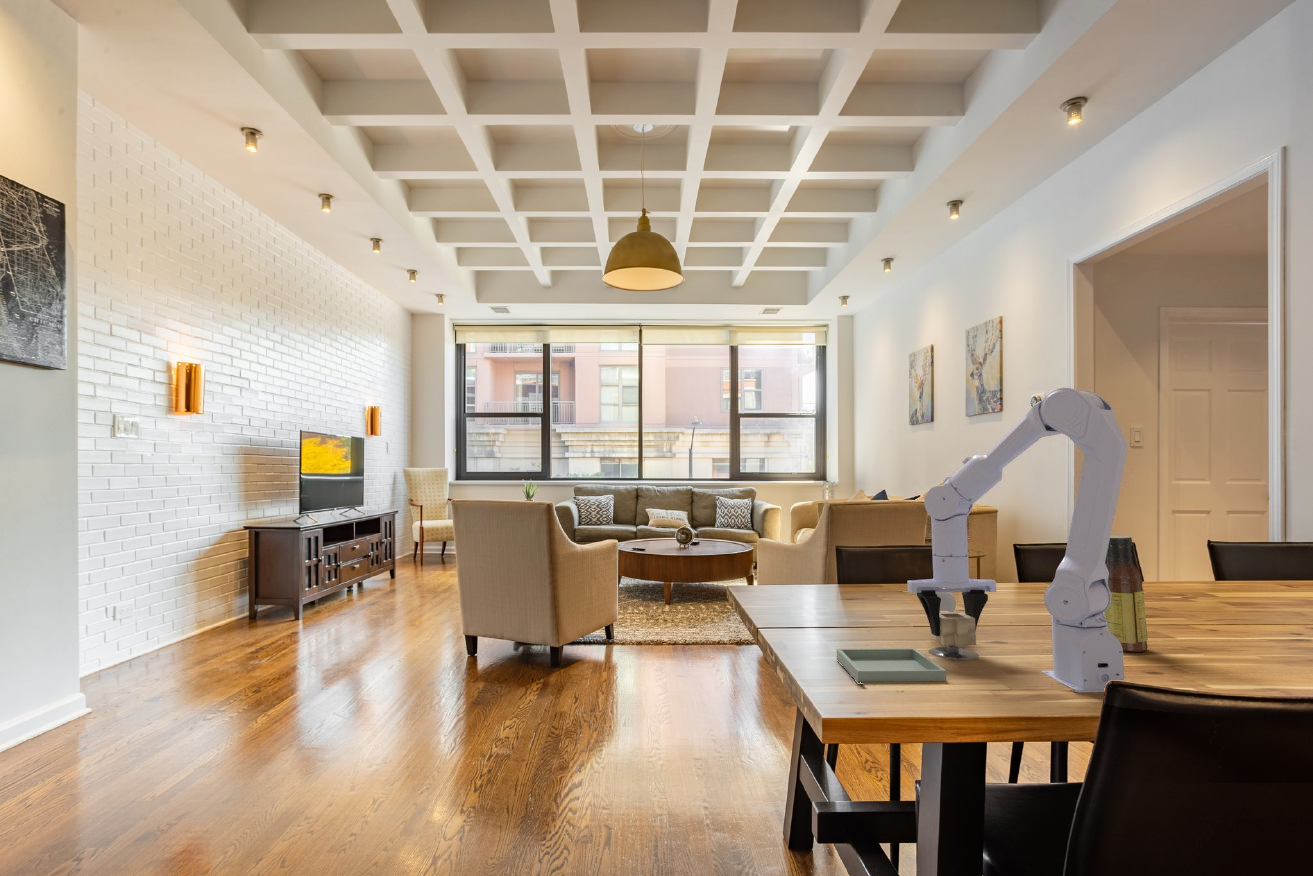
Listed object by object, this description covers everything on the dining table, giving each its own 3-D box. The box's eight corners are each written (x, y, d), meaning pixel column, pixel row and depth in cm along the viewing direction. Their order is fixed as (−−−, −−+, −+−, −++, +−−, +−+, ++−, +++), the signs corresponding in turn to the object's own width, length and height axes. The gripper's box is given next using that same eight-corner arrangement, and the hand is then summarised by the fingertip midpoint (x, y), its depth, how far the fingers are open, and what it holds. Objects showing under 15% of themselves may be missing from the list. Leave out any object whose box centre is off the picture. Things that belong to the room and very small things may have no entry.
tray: (946, 684, 104) (946, 670, 104) (858, 684, 104) (857, 671, 104) (915, 660, 117) (914, 648, 117) (836, 660, 117) (836, 648, 117)
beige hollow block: (980, 647, 115) (979, 620, 115) (947, 647, 115) (946, 620, 115) (958, 635, 123) (957, 610, 124) (928, 635, 124) (927, 610, 124)
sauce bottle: (1135, 644, 125) (1130, 534, 126) (1156, 653, 119) (1150, 537, 120) (1096, 644, 126) (1092, 534, 127) (1116, 653, 120) (1111, 538, 121)
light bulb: (952, 646, 126) (950, 590, 127) (919, 641, 130) (917, 587, 130) (960, 639, 131) (958, 586, 131) (928, 635, 134) (926, 583, 135)
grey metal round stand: (987, 662, 115) (986, 628, 115) (939, 662, 115) (938, 629, 116) (966, 649, 123) (965, 618, 123) (921, 650, 123) (920, 619, 124)
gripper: (981, 552, 124) (984, 628, 123) (900, 553, 124) (903, 629, 123) (1000, 556, 117) (1004, 638, 116) (914, 557, 117) (917, 639, 116)
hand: (953, 634), depth 119 cm, fingers closed on beige hollow block, 5 cm apart
